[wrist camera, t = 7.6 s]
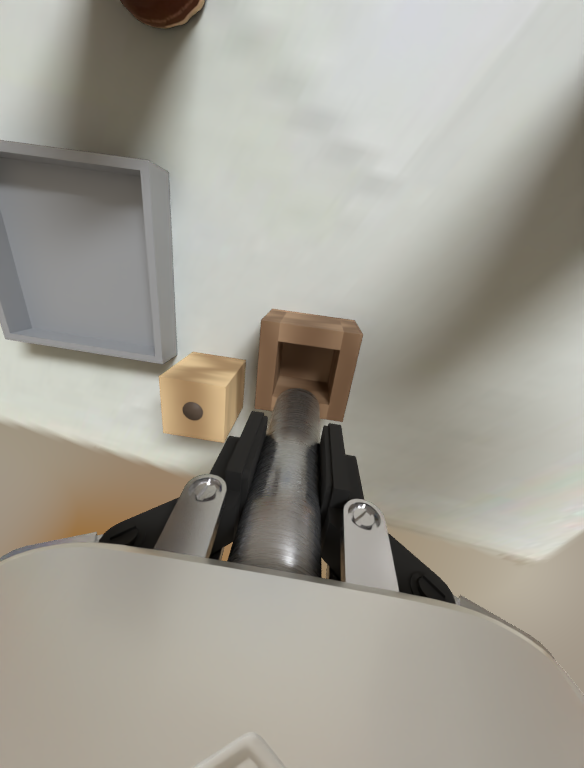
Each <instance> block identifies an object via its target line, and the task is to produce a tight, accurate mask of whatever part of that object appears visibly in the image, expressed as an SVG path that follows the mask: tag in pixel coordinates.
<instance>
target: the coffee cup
mask: <svg viewBox="0 0 584 768" xmlns="http://www.w3.org/2000/svg"><path fill="white" fill-rule="evenodd" d="M121 2H122V4H123V5H124V6H125V7H126V8H127V9H128V10H129V11H130V12H131V14H132V15H133V16H134V17H135V18H137V19H138V20H139V21H141V22H142V23H144V24H147V25H150V26H152V27H156V28H166V29H167V28H170V27H174V26H178V25H183V24H185V23H187V22H188V20H189V19H190V18H191V17H192V16H193V15H194V14H196V13H197V12H198V11H200V10H201V8H202V7H203V5H204V2H205V0H121Z"/></svg>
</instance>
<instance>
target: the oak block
mask: <svg viewBox="0 0 584 768" xmlns="http://www.w3.org/2000/svg"><path fill="white" fill-rule="evenodd" d="M245 366H246V360H242V359H235V358H229V357H223V356H216V355H210V354H203V353H197V352H192V353H191V354H189V355H188V356H187V357H185V358H184V359H182V360H181V361H180V362H178V363H177V364H175V365H174V366H173V367H171V368H170V369H168V370H167V371H166V372H164V373H163V374H162V375H160V376H159V385H160V397H161V410H162V422H163V433H167V434H173V435H180V436H186V437H192V438H198V439H204V440H210V441H216V442H222V443H224V442H225V440H226V438H227V436H228V434H229V432H230V431H231V429H232V427H233V425H234V423H235V421H236V419H237V417H238V415H239V413H240V412H241V410H242V408H243V397H244V382H245Z"/></svg>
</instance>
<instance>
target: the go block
mask: <svg viewBox="0 0 584 768" xmlns="http://www.w3.org/2000/svg"><path fill="white" fill-rule="evenodd" d="M362 337H363V334H362V332H361V330H360V329H359V327H358V325H357V323H356V322H355V320H348V319H341V318H334V317H327V316H320V315H313V314H306V313H299V312H292V311H285V310H278V309H272V310H271V311H270V312H269V313H268V314H267V315H266V316H265V317H264V318H263V319H262V320H261V330H260V343H259V357H258V370H257V383H256V397H255V409H262V410H269V411H273V409H274V406H275V402H276V400H277V398H278V396H279V395H280V394H281V393H282V392H284V391H286V390H288V389H291V388H301V389H305V390H307V391H309V392H311V393H312V394H313V395H314V396H315V397H316V398H317V400H318V402H319V406H320V418H321V419H327V420H334V421H340V422H343V418H344V414H345V409H346V405H347V401H348V397H349V392H350V388H351V384H352V380H353V375H354V371H355V367H356V363H357V358H358V354H359V350H360V346H361V341H362Z"/></svg>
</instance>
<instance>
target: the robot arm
mask: <svg viewBox="0 0 584 768" xmlns="http://www.w3.org/2000/svg"><path fill="white" fill-rule="evenodd" d="M267 421H268V417H267V416H264V413H261V412H255V411H252V412H251V414H250V416H249V419H248V421H247V423H246V425H245V428H244V430H243V432H242V434H241V437H240V438H239V437H233V436H229V437H228V439H227V441H226V443H225V445H224V447H223V449H222V451H221V453H220V454H219V456H218V458H217V460H216V462H215V464H214V466H213V468H212V470H211V472H210V474H204V475H199V476H197V477H195V478H193V479H191V480H190V481H189V482H188V483H187V484H186V486H185V488H184V489H183V491H182V493H181V495H180V497H179V498H177V499H174V500H172V501H169V502H167V503H165V504H162V505H160V506H158V507H156V508H153V509H151V510H148V511H146V512H144V513H142V514H139V515H137V516H135V517H132V518H130V519H127V520H125V521H123V522H120V523H118V524H116V525H115V526H113V527H111V528H110V529H109V530H108V531H106V533H104V534H103V535H98V536H97V532H94V533H90V534H84V535H79V536H75V537H70V538H64V539H60V540H54V541H49V542H44V543H40V544H35V545H30V546H25V547H22V548H19V549H16V550H13V551H11V552H9V553H8V554H6V555H4V556H2V557H1V558H0V768H584V695H583V693H582V692H581V691H580V689H579V688H578V687H577V685H576V684H575V683H574V681H573V680H572V679H571V678H570V676H569V675H568V674H567V673H566V672H565V670H564V669H563V668H562V667H561V666H560V665H559V664H558V663H557V662H556V660H555V659H554V657H553V656H552V655H551V653H550V652H549V651H548V650H547V649H546V648H545V647H544V646H543V645H542V644H541V643H540V642H539V641H537V640H536V639H535V638H533V637H532V636H531V635H529V634H527V633H525V632H524V631H522V630H520V629H518V628H517V627H515V626H513V625H512V624H510V623H508V622H506V621H505V620H503V619H501V618H499V617H498V616H496V615H494V614H493V613H491V612H489V611H487V610H486V609H484V608H482V607H480V606H479V605H477V604H475V603H473V602H472V601H470V600H468V599H467V598H465V597H463V596H461V595H460V596H459V598H457V597H455V596H454V595H453V594H452V592H451V591H450V589H449V588H448V586H447V585H446V584H445V583H444V582H443V581H442V580H441V578H440V577H438V576H437V575H436V574H435V573H434V572H433V571H431V570H430V569H429V568H428V567H427V566H426V565H425V564H423V563H422V562H421V561H420V560H419V559H418V558H416V557H415V556H414V555H413V554H412V553H411V552H410V551H408V550H407V549H406V548H405V547H404V546H403V545H401V544H400V543H399V542H398V541H397V540H395V538H393V537H392V536H391V535H390V534H388V531H387V526H386V521H385V518H384V515H383V513H382V512H381V511H380V509H379V508H378V507H377V506H375V505H374V504H372V503H371V502H369V501H366V500H364V496H363V491H362V486H361V481H360V476H359V470H358V465H357V460H356V457H355V456H350V455H345V449H344V442H343V435H342V428H341V425H337V424H331V423H329V424H328V426H324V427H323V431H322V436H321V441H320V513H321V558H323V560H324V561H325V562H326V563H327V573H326V579H325V578H319V577H313V576H308V575H302V574H296V573H290V572H285V571H279V570H273V569H267V568H262V567H256V566H250V565H244V564H238V563H233V562H227V561H221V559H222V555H223V551H224V547H225V546H226V545H228V544H230V543H231V542H233V541H234V538H235V534H236V531H237V528H238V524H239V521H240V518H241V514H242V511H243V508H244V505H245V502H246V500H247V497H248V493H249V490H250V487H251V483H252V480H253V477H254V473H255V470H256V467H257V463H258V460H259V457H260V453H261V450H262V447H263V443H264V440H265V437H266V430H267Z"/></svg>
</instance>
